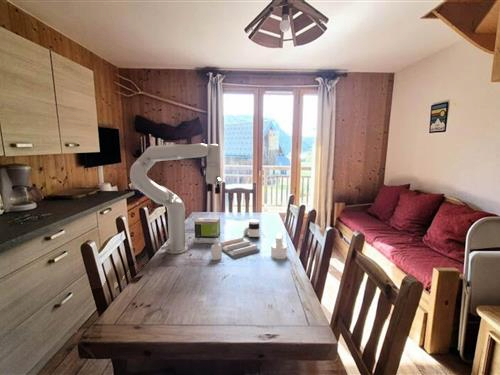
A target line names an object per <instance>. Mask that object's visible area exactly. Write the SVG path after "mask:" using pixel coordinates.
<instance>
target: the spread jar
mask: <svg viewBox="0 0 500 375" xmlns="http://www.w3.org/2000/svg"><path fill="white" fill-rule="evenodd" d="M248 221H249V222H248V225H247V226H246V227H245V228H244V229H243V231H242V232H243V233H242V234H243V235H244V236H247V235H248V238H249V239H252V238H256V239H259V238H260V230H261V229H260V227H261V226H260V220H258V219H250V220H248Z"/></svg>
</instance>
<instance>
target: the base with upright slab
mask: <svg viewBox="0 0 500 375" xmlns="http://www.w3.org/2000/svg"><path fill="white" fill-rule="evenodd" d="M270 249H271V250H270V251H271V252H270V254H271V256H270V257H272V258H273V259H276V260H284V259H286V258H287V256H288V245H287V244H286V243H283V233H282V232H277V234H276V237H275V242H274V243H272V244H271V248H270Z"/></svg>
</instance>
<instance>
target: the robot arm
mask: <svg viewBox="0 0 500 375" xmlns="http://www.w3.org/2000/svg"><path fill="white" fill-rule="evenodd" d="M203 157H206V168H205V169H206V171H205V182H206V191H207V192H212V191H213V184H214V186H215V187H214V194H215V195H217V194H218V195H219V194H221V185H222V179H221V172H220V145H219V144H217V143H208V144H206V143H202V142H201V143H194V144H193V143H191V144H178V143H177V144H164V145H163V144H162V145H151V146H148V147H147V148H146V149H145V151H144V152H142V154H141V155H140V156H139V157H138V158H137V159H136V161H134V163H132V165H131V167H130V169H129V170H130V171H129V179H130V182H131V184H132V185H133V187H134V188H136V189H137V190H138V191H140V192H141V193H142V194H144V195H145V196H146V197H147V198H149V199H151V200H152V201H153V202H154V203H156V204H159V205H163V207H165V208H166V209H167V225H168V226H167V228H168V231H167V232H168V242H167V244H166V245H161V246H160V250H164V251H166V252H167V253H168V254H171V255H176V254H177V255H179V254H183V253H186V252H187V251H188V250H189V246H188V245H186V224H185V223H186V222H185V220H186V219H185V217H186V216H185V215H186V206H185V203H184V201H183V200H182V199H181V198H180V196H178V195H177V194H175V193H174V192H173V191H171V190H169V189H168V188H167V187H166V186H163V185H159V184H158V183H156V182H155V181H153V180H152V179H150V177H148V175H147V174H148V171H149V170H150V169H151V168H152V167H153V166H154V165H155V163H156V162H161V161H173V160H174V161H175V160H176V161H177V160H183V159H193V158H195V159H196V158H203Z"/></svg>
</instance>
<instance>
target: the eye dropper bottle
mask: <svg viewBox="0 0 500 375" xmlns="http://www.w3.org/2000/svg"><path fill="white" fill-rule="evenodd" d="M219 242H220V240H219V241H218V240H217V238H216V240H214V243H213V244H212V245H211V246H210V247H211V250H210V252H211V254H210V255H211V256H210V257H211V260H212V261H219V260H221V259H223V258H222V257H223V255H222V254H223V253H222V252H223V251H222V246H221V245H220V243H219Z"/></svg>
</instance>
